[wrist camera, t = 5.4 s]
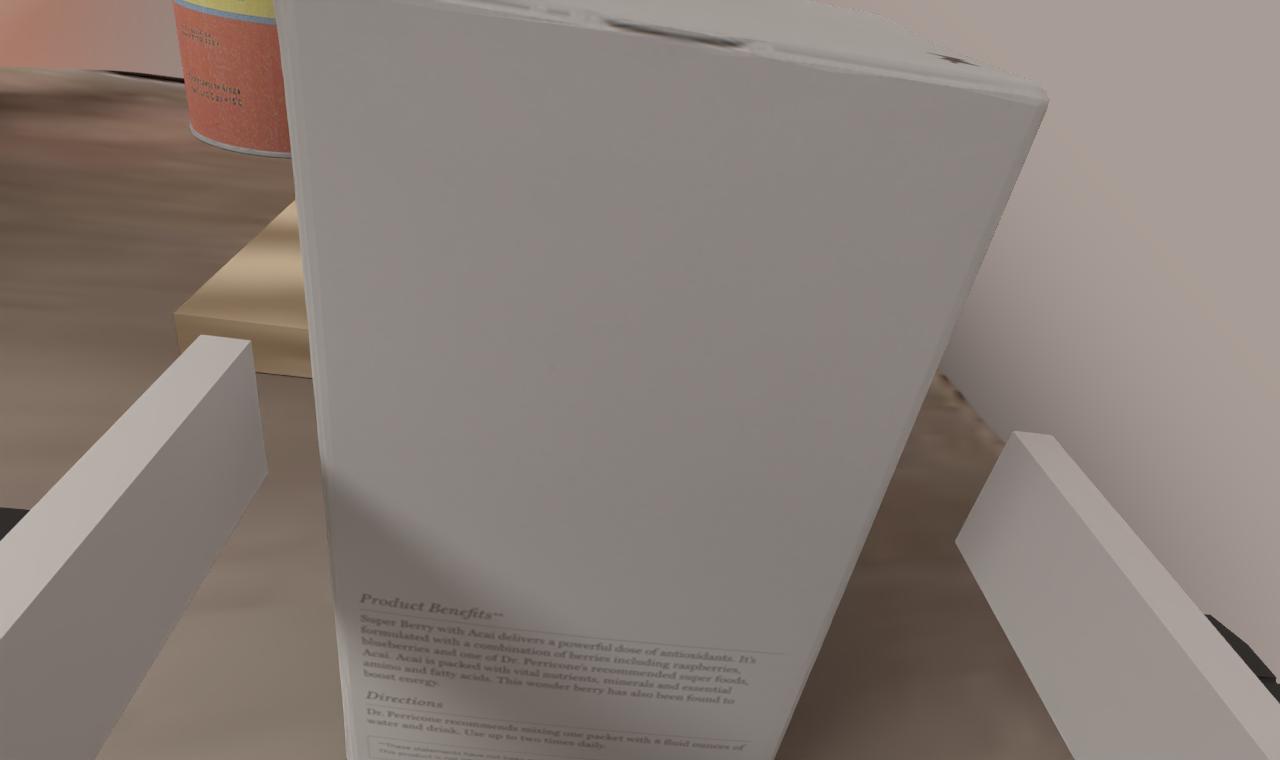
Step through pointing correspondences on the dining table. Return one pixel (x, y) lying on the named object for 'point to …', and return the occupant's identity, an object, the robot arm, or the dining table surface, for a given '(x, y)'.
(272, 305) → the maple pad
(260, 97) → the canned food
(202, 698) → the dining table surface
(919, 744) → the dining table surface
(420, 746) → the supplement box
